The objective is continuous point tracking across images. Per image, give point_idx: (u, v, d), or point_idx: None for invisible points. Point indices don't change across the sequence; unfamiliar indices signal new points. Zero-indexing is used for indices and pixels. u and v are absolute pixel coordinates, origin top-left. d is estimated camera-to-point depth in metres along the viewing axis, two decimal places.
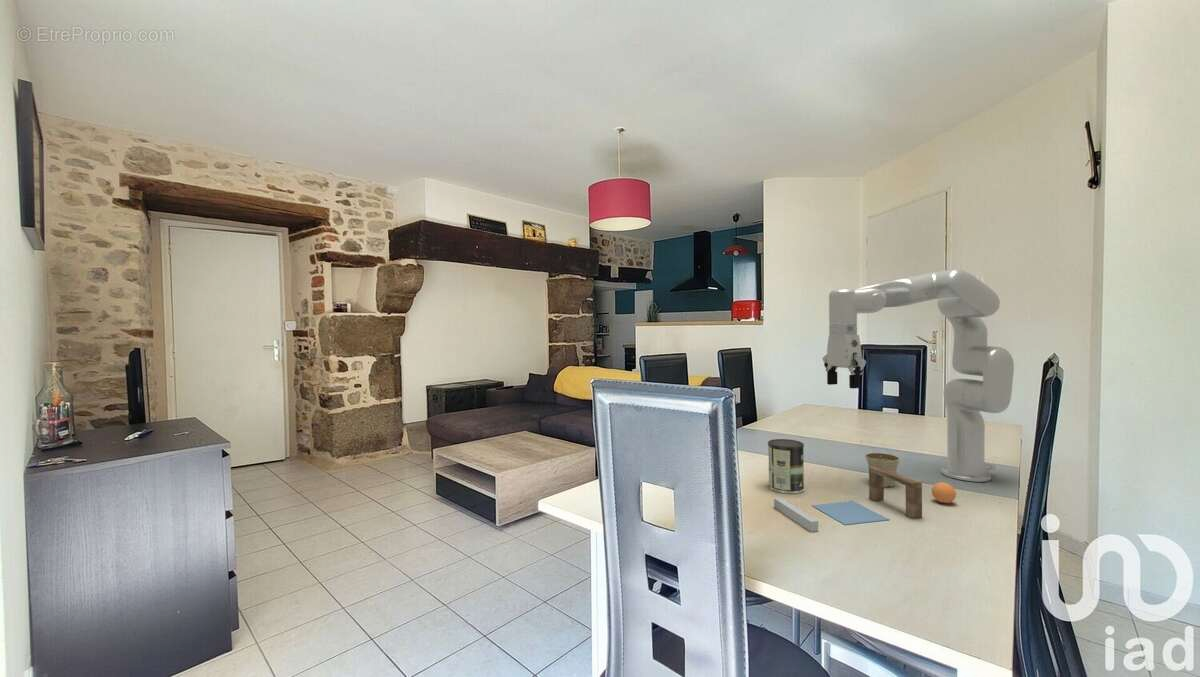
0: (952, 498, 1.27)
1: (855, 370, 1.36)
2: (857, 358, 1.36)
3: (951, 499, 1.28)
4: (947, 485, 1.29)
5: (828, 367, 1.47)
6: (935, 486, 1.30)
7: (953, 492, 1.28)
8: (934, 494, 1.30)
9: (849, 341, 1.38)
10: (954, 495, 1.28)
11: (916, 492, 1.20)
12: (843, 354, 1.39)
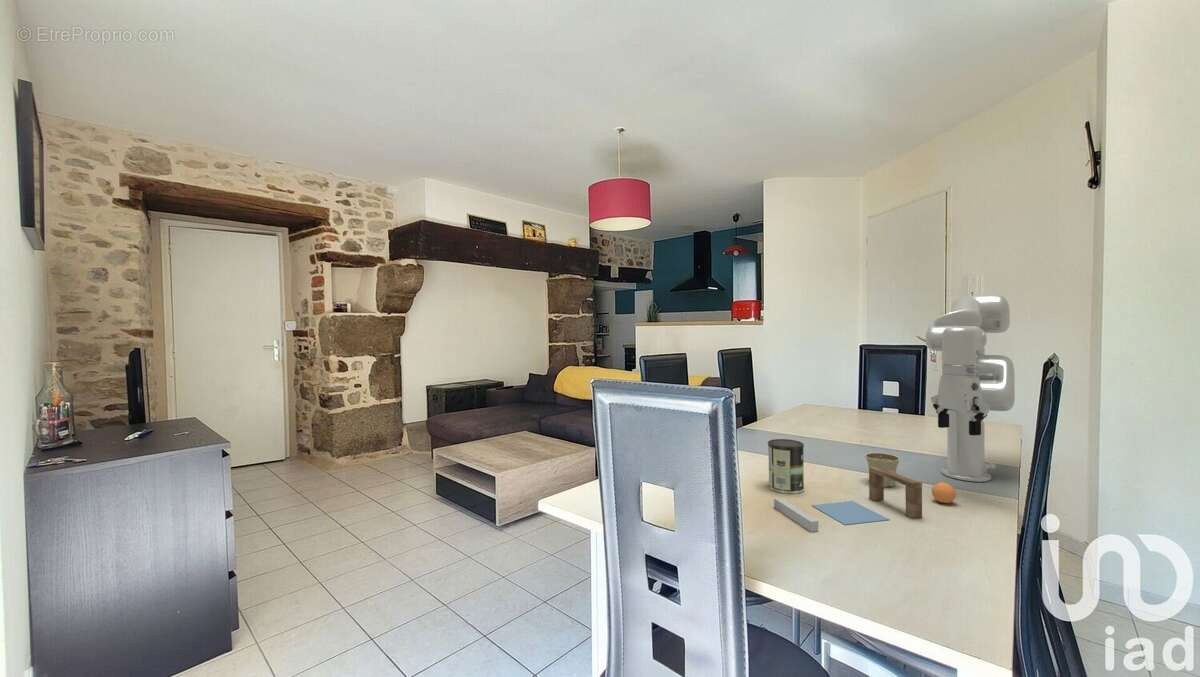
0: (952, 498, 1.27)
1: (976, 416, 1.26)
2: (979, 403, 1.26)
3: (951, 499, 1.28)
4: (947, 485, 1.29)
5: (939, 409, 1.37)
6: (935, 486, 1.30)
7: (953, 492, 1.28)
8: (934, 494, 1.30)
9: (969, 384, 1.28)
10: (954, 495, 1.28)
11: (916, 492, 1.20)
12: (961, 398, 1.29)
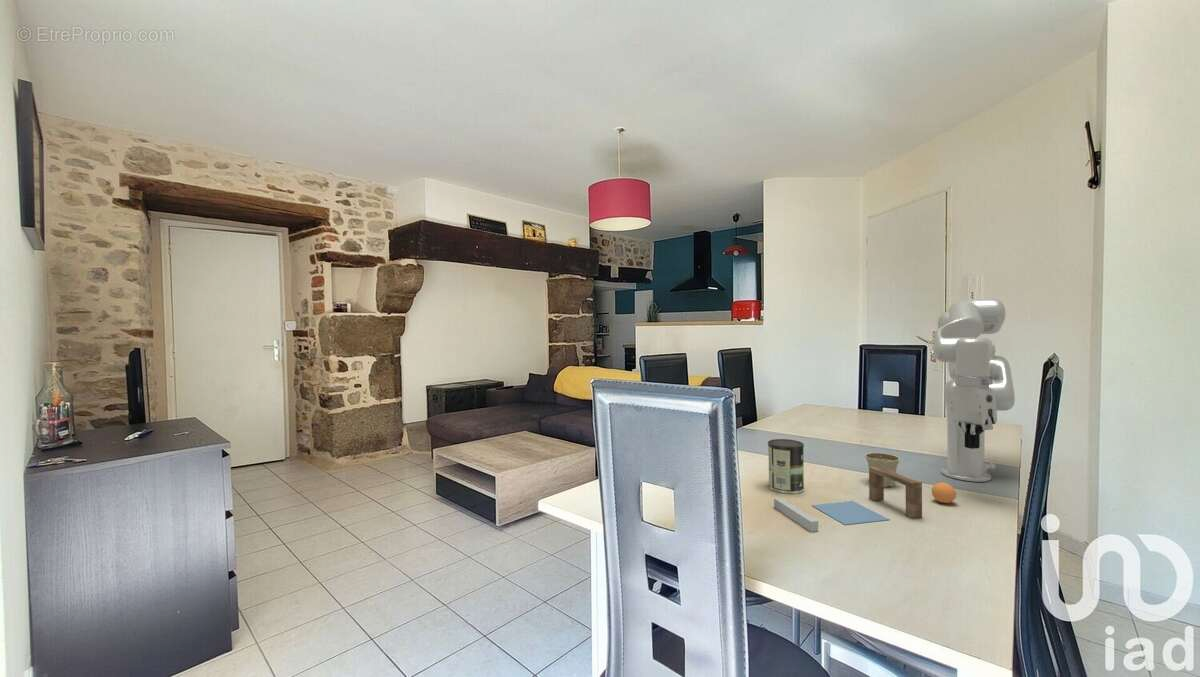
0: (952, 498, 1.27)
1: (977, 432, 1.29)
2: (986, 421, 1.27)
3: (951, 499, 1.28)
4: (947, 485, 1.29)
5: (963, 427, 1.32)
6: (935, 486, 1.30)
7: (953, 492, 1.28)
8: (934, 494, 1.30)
9: (983, 396, 1.26)
10: (954, 495, 1.28)
11: (916, 492, 1.20)
12: (976, 410, 1.28)
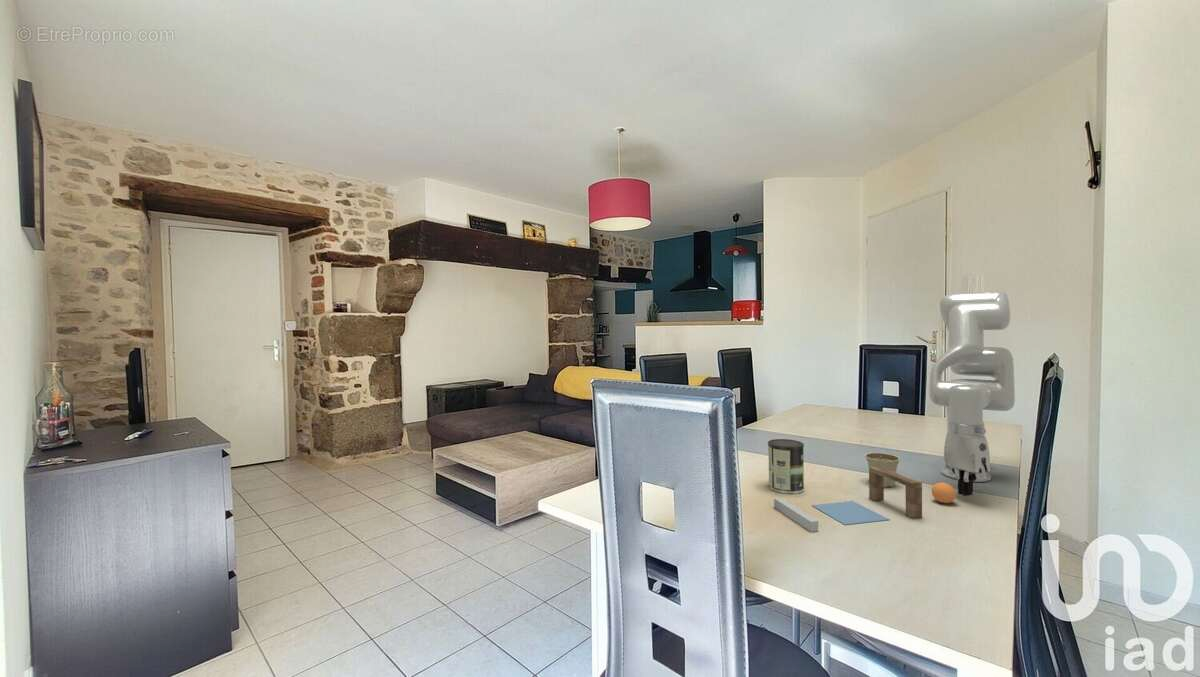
0: (952, 498, 1.27)
1: (970, 480, 1.29)
2: (980, 470, 1.26)
3: (951, 499, 1.28)
4: (947, 485, 1.29)
5: (956, 473, 1.32)
6: (935, 486, 1.30)
7: (953, 492, 1.28)
8: (934, 494, 1.30)
9: (977, 445, 1.26)
10: (954, 495, 1.28)
11: (916, 492, 1.20)
12: (969, 458, 1.27)
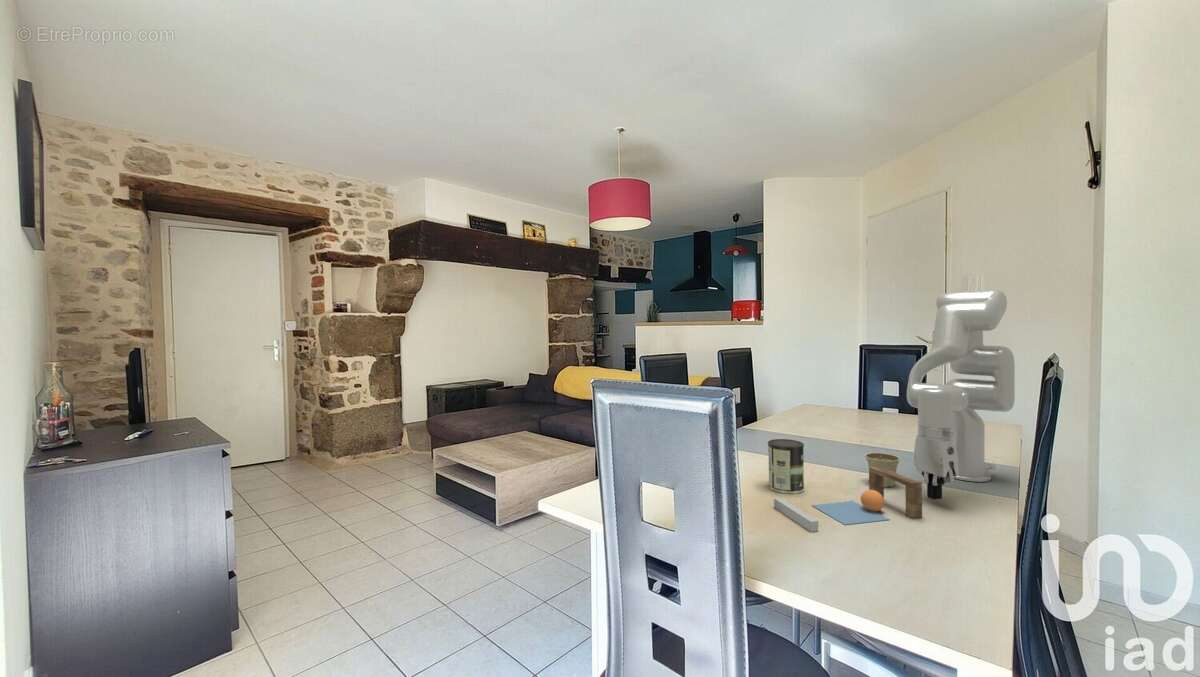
0: (882, 503, 1.23)
1: (939, 484, 1.27)
2: (948, 474, 1.25)
3: (882, 503, 1.23)
4: (868, 505, 1.24)
5: (926, 477, 1.30)
6: None
7: (876, 503, 1.23)
8: None
9: (945, 448, 1.24)
10: (879, 502, 1.23)
11: (916, 492, 1.20)
12: (937, 462, 1.26)
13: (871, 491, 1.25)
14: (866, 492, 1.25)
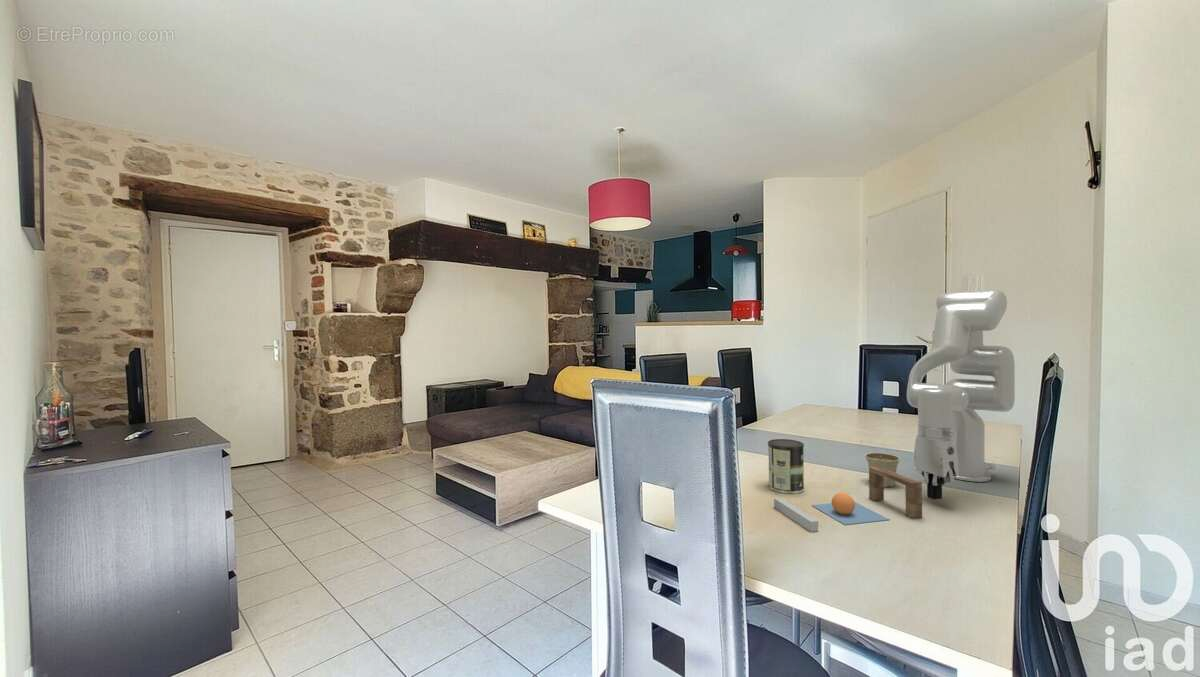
0: (848, 508, 1.21)
1: (939, 484, 1.27)
2: (948, 474, 1.25)
3: (846, 508, 1.21)
4: (853, 500, 1.23)
5: (926, 477, 1.30)
6: (844, 493, 1.24)
7: (853, 507, 1.21)
8: (837, 495, 1.24)
9: (945, 448, 1.24)
10: (851, 509, 1.21)
11: (916, 492, 1.20)
12: (937, 462, 1.26)
13: None
14: None
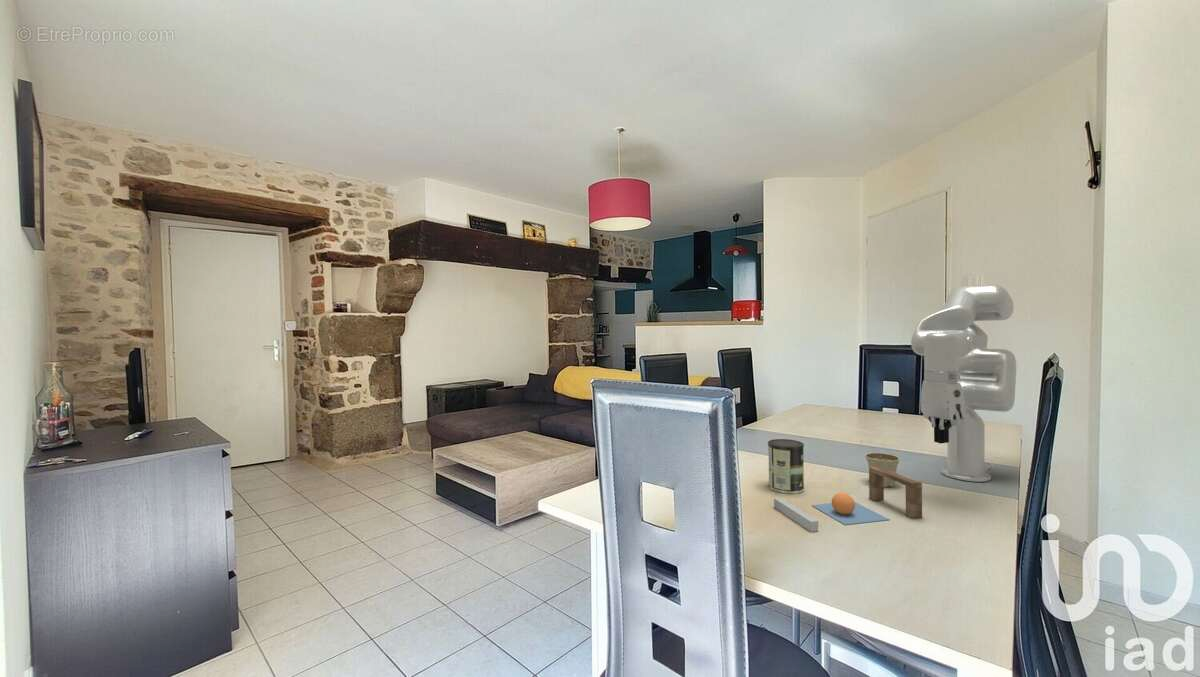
0: (848, 508, 1.21)
1: (945, 427, 1.28)
2: (954, 416, 1.25)
3: (846, 508, 1.21)
4: (853, 500, 1.23)
5: (932, 421, 1.31)
6: (844, 493, 1.24)
7: (853, 507, 1.21)
8: (837, 495, 1.23)
9: (951, 391, 1.25)
10: (851, 509, 1.21)
11: (916, 492, 1.20)
12: (944, 405, 1.26)
13: None
14: None
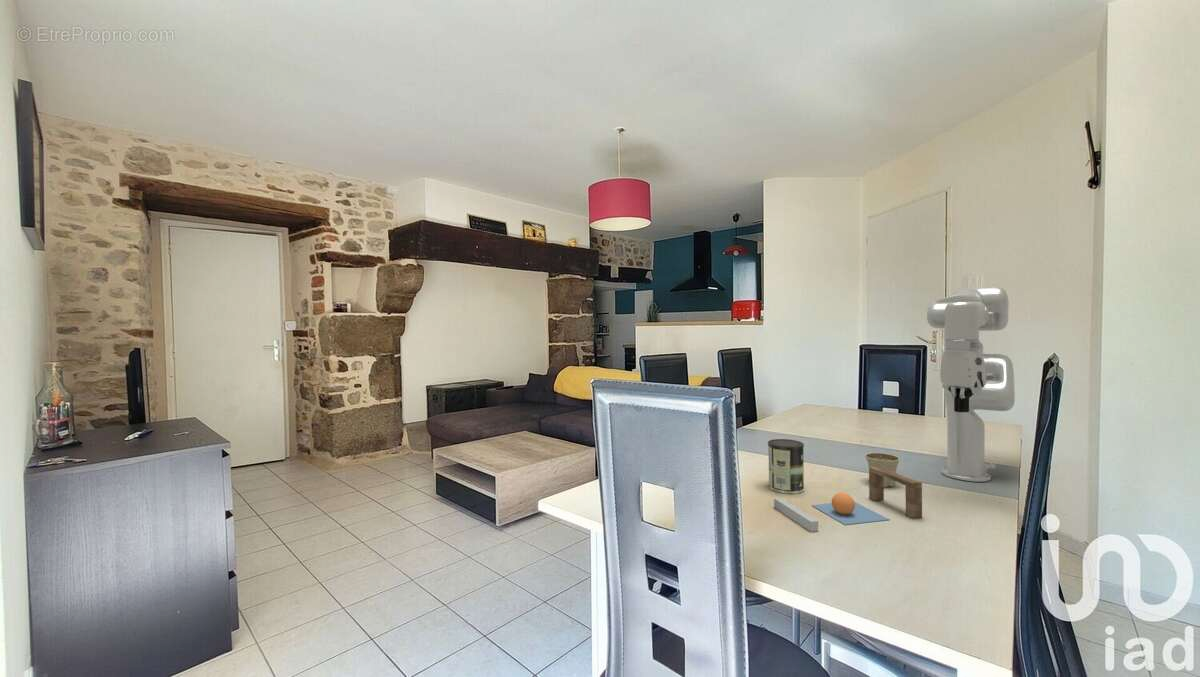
0: (848, 508, 1.21)
1: (966, 396, 1.28)
2: (976, 384, 1.26)
3: (846, 508, 1.21)
4: (853, 500, 1.23)
5: (953, 391, 1.32)
6: (844, 493, 1.24)
7: (853, 507, 1.21)
8: (837, 495, 1.23)
9: (973, 359, 1.26)
10: (851, 509, 1.21)
11: (916, 492, 1.20)
12: (965, 373, 1.27)
13: None
14: None
